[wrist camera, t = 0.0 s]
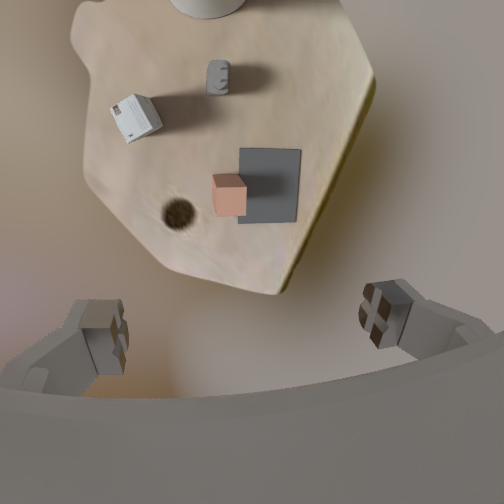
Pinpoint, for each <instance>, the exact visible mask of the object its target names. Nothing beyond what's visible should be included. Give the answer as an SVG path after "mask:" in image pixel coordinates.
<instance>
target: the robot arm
mask: <svg viewBox="0 0 504 504" xmlns="http://www.w3.org/2000/svg"><path fill="white" fill-rule="evenodd" d="M245 1H246V0H170V2H171V3H172V4H173V5H174V7H176V8H177V9H178V10H179V11H181V12H182V13H184V14H186V15H189V16H191V17H195V18H202V19H211V18H218V17H222V16H225V15H228V14H230V13H232V12H234V11H235V10H237V9H238V8H239V7H240V6H241V5H242V4H243V3H244V2H245ZM363 296H364V298H365V300H364V301H363V302H362V303H361V304H360V307H359V313H358V314H359V321H360V324H361V326H362V328H363V329H364V330H365V331H367V332H369V333H370V339H371V340H372V342H373V343H374V344H375V346H376V347H377V349H382V348H388V347H393V346H398V347H399V348H401V349H402V350H404V351H405V352H407V353H409V354H410V355H412V356H413V357H415V358H417V359H418V360H417V361H414V362H410V363H406V364H403V365H399V366H395V367H391V368H387V369H383V370H379V371H375V372H371V373H366V374H362V375H357V376H353V377H348V378H343V379H338V380H333V381H327V382H322V383H317V384H311V385H305V386H299V387H292V388H285V389H278V390H270V391H262V392H255V393H244V394H235V395H222V396H209V397H193V398H167V399H166V398H164V399H122V398H121V399H120V398H118V399H117V398H94V397H80V396H81V395H82V394H83V393H84V392H85V390H86V389H87V388H88V387H89V386H90V385H91V384H92V383H93V382H94V380H95V379H96V378H97V377H98V375H123V374H124V369H125V363H126V358H125V355H124V353H125V352H126V351H128V346H129V332H128V326H127V322H126V321H125V320H124V319H123V313H124V307H123V303H122V301H121V299H77V300H75V302H74V304H73V306H72V308H71V310H70V312H69V314H68V316H67V318H66V320H65V322H64V325H63V327H62V328H58V329H56V330H54V331H53V332H51V333H50V334H48V335H47V336H45V337H44V338H42V339H41V340H39V341H38V342H36V343H35V344H33V345H32V346H30V347H29V348H27V349H26V350H24V351H23V352H22V353H20V354H19V355H17V356H16V357H14V358H13V359H11V360H10V361H8V362H7V363H6V364H5V366H4V368H3V370H2V372H1V374H0V504H504V331H502V332H500V333H497V334H495V333H494V332H493V331H492V330H491V329H490V328H489V327H488V326H487V325H486V324H485V323H484V322H483V321H482V320H480V319H478V318H475V317H473V316H470V315H468V314H465V313H462V312H460V311H458V310H455V309H452V308H450V307H447V306H445V305H442V304H439V303H437V302H434V301H432V300H426V299H425V298H424V297H423V296H422V295H421V294H420V293H419V292H417V291H416V290H415V289H414V288H413V287H412V286H411V285H410V284H409V283H408V282H407V281H405V280H404V279H396V280H390V281H383V282H375V283H367V284H366V285H365V287H364V290H363Z"/></svg>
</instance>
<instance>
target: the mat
mask: <svg viewBox="0 0 504 504" xmlns="http://www.w3.org/2000/svg"><path fill="white" fill-rule="evenodd" d="M299 165H300V150H295V149H265V148H240V159H239V177H240V178H241V180H242V181H243V182H244V184H245V185H246V187H247V195H246V216H238V224H247V223H285V222H295V218H296V206H297V193H298V180H299Z"/></svg>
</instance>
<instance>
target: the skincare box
mask: <svg viewBox="0 0 504 504" xmlns="http://www.w3.org/2000/svg"><path fill="white" fill-rule="evenodd" d="M110 110H111V112H112V114H113V116H114V118H115V120H116V123H117V125H118V127H119V129H120V130H121V132H122V133H123V135H124V137H125V139H126V141H127V143H130V142H133V141H136V140H138V139H141V138H143V137H145V136H147V135H149V134H151V133H152V132H154V131H156V130H158V129H160V128H161V127H163V124H162V122H161V119H160V117H159V115H158V113H157V111H156V109H155V107H154V105H153V104H152V102H151V100H150V99H149V98H148V97H144V96H141V95H137V94H132V95H131V96H129V97H127V98H126V99H124V100H123V101H121V102H119V103H118V104H116V105H114V106H113V107H111V108H110Z"/></svg>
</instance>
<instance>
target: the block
mask: <svg viewBox="0 0 504 504" xmlns="http://www.w3.org/2000/svg"><path fill="white" fill-rule="evenodd" d="M246 195H247V187H246V185H245V184H244V182H243V181H242V180H241V178H240V177H239V175H238V174H223V175H212V199H213V204H214V208H215V212H216V217H219V216H246Z"/></svg>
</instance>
